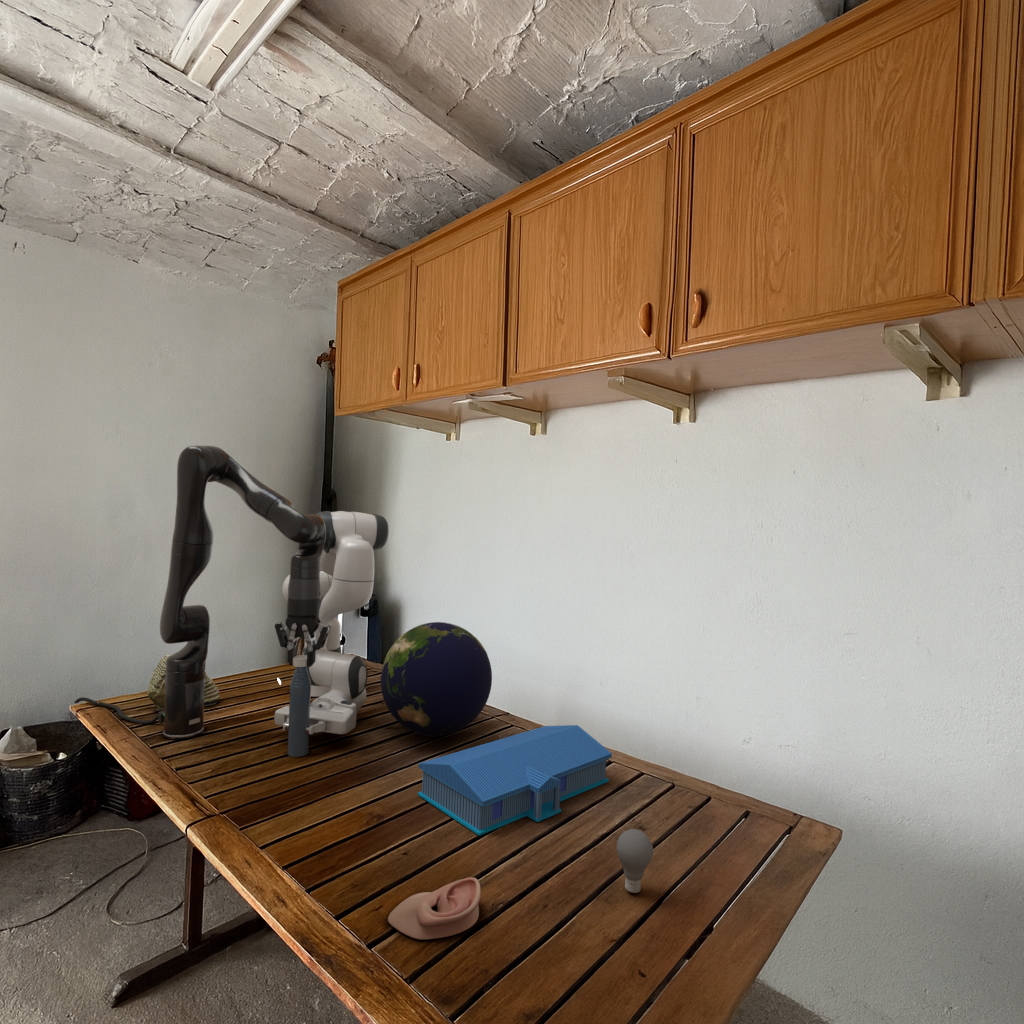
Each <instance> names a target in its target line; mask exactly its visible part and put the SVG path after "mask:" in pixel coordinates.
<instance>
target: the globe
mask: <svg viewBox="0 0 1024 1024" xmlns="http://www.w3.org/2000/svg"><path fill="white" fill-rule="evenodd" d="M380 673H381V674H380V688H381V689H380V690H381V694H382V697H383V701H384V703H385V706H386V708H387V710H388V711H389V713H390V715H391V716H392V717H393V718H394V719H395V721H397V722H398V723H399V724H400V725H401V726H402V727H404V728H405V729H406V730H409V731H410V732H412V733H415V734H417V735H421V736H424V737H443V736H444V737H445V736H449V735H452V734H455V733H457V732H459V731H461V730H464V729H465V728H467V727H468V726H469V725H470V724H472V723H473V722H474V721H475V720H476V719H477V718H478V717H479V716H480V714H481V713H482V711H483V710H484V708H485V706H486V704H487V702H488V700H489V698H490V694H491V690H492V684H493V683H492V682H493V671H492V666H491V660H490V658H489V656H488V652H487V651H486V649H485V647H484V645H483V644H482V643H481V642H480V640H479V639H478V638H477V637H476V636H475V635H473V634H472V633H471V632H469V631H468V630H467V629H466V628H463V627H461V626H460V625H457V624H453V623H450V622H445V621H434V622H432V621H431V622H428V623H423V624H419V625H416V626H415V627H413V628H411V629H409V630H407V631H406V632H404V633H403V634H402V635H401V636H399V637H398V638H397V639H396V641H395V642H394V643H392V645H391V647H390V648H389V650H388V652H387V653H386V656H385V658H384V660H383V664H382V668H381V672H380Z"/></svg>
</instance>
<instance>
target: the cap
mask: <svg viewBox="0 0 1024 1024" xmlns="http://www.w3.org/2000/svg"><path fill="white" fill-rule="evenodd" d="M305 666H307V655H303V654H299V655H296V656H295V657H293V667H305Z"/></svg>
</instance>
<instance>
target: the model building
mask: <svg viewBox="0 0 1024 1024" xmlns="http://www.w3.org/2000/svg"><path fill="white" fill-rule="evenodd" d="M612 758H613V753H612V752H611V751H610V750H609V749H608V748H606V747H605V746H604V745H603V744H601V743H600V742H599V741H597V740H596V739H595V738H594V737H593V736H591V735H590V733H588V732H587V731H586V730H584V729H583V728H582V727H581V726H579V725H578V724H571V725H569V724H567V725H544V726H541V727H538V728H533V729H530V730H526V731H524V732H520V733H517V734H514V735H510V736H505V737H504V738H500V739H497V740H493V741H489V742H486V743H484V744H480V745H476V746H473V747H469V748H466V749H463V750H459V751H457V752H456V751H455V752H452V753H449V754H446V755H442V756H439V757H436V758H432V759H428V760H425V761H422V762H418V769H420V770H421V771H422V782H421V783H422V785H421V791H419V792H417V796H419V797H420V798H421V799H423V800H425V802H428V803H429V804H431V805H432V806H433V807H435V808H436V809H438V810H439V811H441V812H443V813H444V814H445V815H447V816H449V817H450V818H452V819H453V820H455V821H456V822H458V823H459V824H461V825H462V826H464V827H465V828H467V829H468V830H470V831H471V832H473V833H474V834H476V835H477V836H478V837H480V836H482V835H485V834H487V833H489V832H491V831H494V830H496V829H499V828H501V827H504V826H506V825H508V824H511V823H514V822H515V821H518V820H520V819H524V818H525V817H527V818H530V819H531V820H532V821H535V822H536V823H539V822H541V821H543V820H546V819H549V818H551V817H553V816H555V815H558V814H560V813H562V808H561V807H560V806H561V805H560V804H561V802H563V801H566V800H568V799H570V798H573V797H575V796H577V795H580V794H582V793H585V792H587V791H590V790H591V789H594V788H597V787H599V786H601V785H603V784H606V783H609V782H610V779H609V778H607V777H606V775H607V774H606V773H607V760H610V759H612Z"/></svg>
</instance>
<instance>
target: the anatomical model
mask: <svg viewBox="0 0 1024 1024" xmlns="http://www.w3.org/2000/svg"><path fill="white" fill-rule="evenodd" d="M481 894H482V893H481V884H480V881H479V880H478V879H477V878H476V877H464V878H461V879H458V880H455V881H453V882H450V883H448V884H446V885H443V886H441V887H440V888H437V889H435V890H433V891H431V892H430V891H426V892H425V891H424V892H418V893H415V894H413V895H410V896H408V897H407V898H406V899H404V900H403V901H401V902H400V903H398V905H397V906H396V907H394V909H393V910H392V911H391V912H390V913H389V915H388V917H387V922H388V924H389V925H391V927H393V928H394V929H396V930H397V931H398V932H400V933H401V934H404V935H405V936H407V937H410V938H412V939H414V940H433V939H440V938H446V937H451V936H454V935H457V934H460V933H463V932H464V931H467V930H468V929H470V928H472V927H473V926H474V925H475V924H476V923H477V922H478V920H479V917H480V916H479V915H480V907H479V903H480V900H481Z"/></svg>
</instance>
